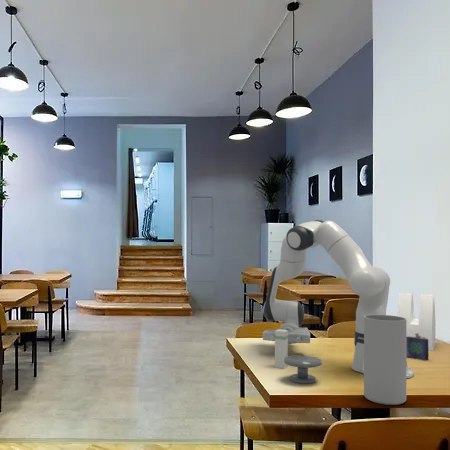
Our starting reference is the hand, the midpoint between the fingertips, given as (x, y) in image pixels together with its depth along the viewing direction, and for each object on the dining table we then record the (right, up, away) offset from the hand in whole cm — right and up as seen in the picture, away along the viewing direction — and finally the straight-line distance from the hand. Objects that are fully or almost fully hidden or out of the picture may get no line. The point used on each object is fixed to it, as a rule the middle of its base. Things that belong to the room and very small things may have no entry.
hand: (284, 339), depth 193 cm
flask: (+57, -10, +6) cm, 59 cm away
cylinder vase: (+25, -7, -48) cm, 55 cm away
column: (-3, -8, -12) cm, 14 cm away
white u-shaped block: (+68, -11, +33) cm, 76 cm away
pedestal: (+2, -7, -30) cm, 31 cm away
